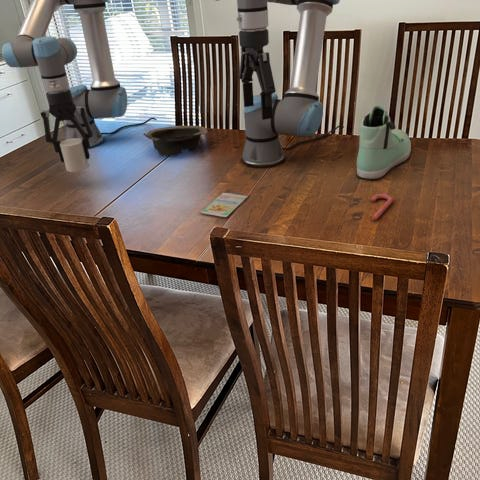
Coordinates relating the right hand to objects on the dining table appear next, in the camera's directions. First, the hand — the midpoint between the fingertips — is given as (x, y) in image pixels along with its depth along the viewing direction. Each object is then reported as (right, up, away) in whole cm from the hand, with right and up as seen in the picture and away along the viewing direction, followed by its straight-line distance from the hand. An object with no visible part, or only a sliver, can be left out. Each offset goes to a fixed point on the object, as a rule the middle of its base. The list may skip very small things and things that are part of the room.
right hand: (257, 112), depth 132 cm
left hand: (-60, -8, +30) cm, 68 cm away
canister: (-60, -11, +31) cm, 69 cm away
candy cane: (+35, -26, +5) cm, 44 cm away
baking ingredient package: (-10, -25, +14) cm, 30 cm away
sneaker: (+45, -8, +34) cm, 57 cm away
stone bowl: (-29, +1, +59) cm, 66 cm away
